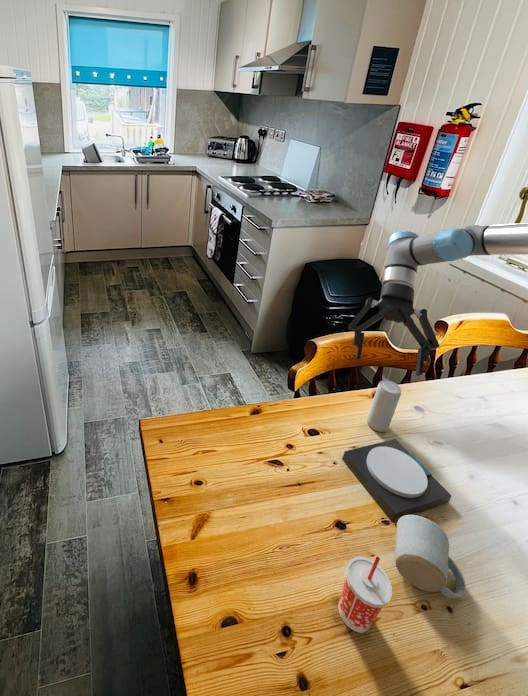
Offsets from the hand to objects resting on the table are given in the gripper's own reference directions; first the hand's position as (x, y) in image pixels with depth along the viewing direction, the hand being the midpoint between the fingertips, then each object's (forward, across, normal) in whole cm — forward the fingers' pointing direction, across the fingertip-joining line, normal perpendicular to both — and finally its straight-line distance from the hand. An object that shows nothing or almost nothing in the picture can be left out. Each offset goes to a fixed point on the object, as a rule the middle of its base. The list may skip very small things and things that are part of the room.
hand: (387, 366), depth 97 cm
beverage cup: (+45, +6, +27) cm, 53 cm away
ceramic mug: (+36, -5, +19) cm, 41 cm away
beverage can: (+14, 0, -4) cm, 15 cm away
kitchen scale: (+25, -2, +7) cm, 26 cm away
